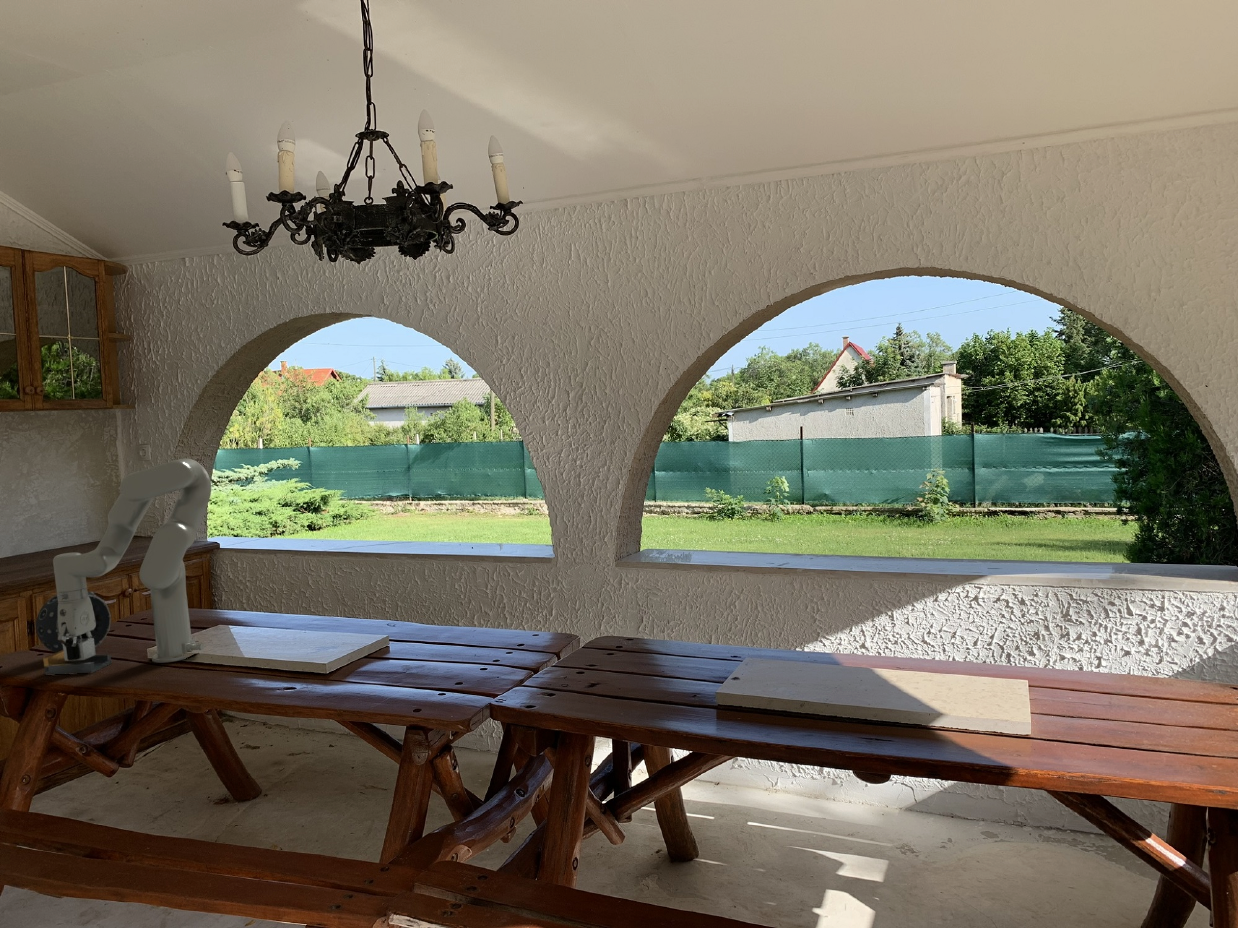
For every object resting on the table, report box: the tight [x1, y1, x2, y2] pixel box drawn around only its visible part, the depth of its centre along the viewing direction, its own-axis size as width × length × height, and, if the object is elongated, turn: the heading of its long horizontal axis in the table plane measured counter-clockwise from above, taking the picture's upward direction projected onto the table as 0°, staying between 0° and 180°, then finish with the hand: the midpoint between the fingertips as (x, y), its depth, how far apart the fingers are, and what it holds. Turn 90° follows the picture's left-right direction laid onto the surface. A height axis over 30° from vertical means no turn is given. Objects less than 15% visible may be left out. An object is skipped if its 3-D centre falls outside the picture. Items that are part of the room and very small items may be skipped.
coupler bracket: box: [42, 650, 112, 675], centre depth 262 cm, size 14×9×5 cm, turn 86°
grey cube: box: [63, 638, 97, 661], centre depth 262 cm, size 7×5×5 cm
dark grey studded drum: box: [35, 591, 112, 653], centre depth 281 cm, size 11×20×20 cm, turn 155°
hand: (80, 655), depth 262 cm, fingers closed on grey cube, 5 cm apart
